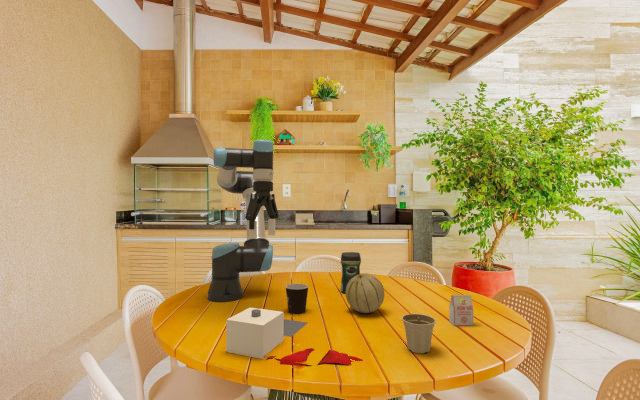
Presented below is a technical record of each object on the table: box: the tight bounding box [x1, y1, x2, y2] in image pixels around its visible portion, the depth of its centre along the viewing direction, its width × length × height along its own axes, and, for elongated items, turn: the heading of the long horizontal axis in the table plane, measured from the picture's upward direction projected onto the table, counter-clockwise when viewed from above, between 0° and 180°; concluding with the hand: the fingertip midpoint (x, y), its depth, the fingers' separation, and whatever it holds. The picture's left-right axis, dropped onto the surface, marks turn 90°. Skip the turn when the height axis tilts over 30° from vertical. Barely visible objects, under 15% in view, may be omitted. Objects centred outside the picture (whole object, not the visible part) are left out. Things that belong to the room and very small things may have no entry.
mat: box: [284, 318, 308, 338], centre depth 112 cm, size 14×13×1 cm
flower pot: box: [401, 313, 437, 354], centre depth 96 cm, size 9×9×9 cm
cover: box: [225, 307, 285, 360], centre depth 97 cm, size 12×12×10 cm
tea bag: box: [448, 294, 474, 327], centre depth 116 cm, size 4×7×10 cm, turn 91°
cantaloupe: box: [345, 273, 385, 314], centre depth 128 cm, size 15×15×15 cm
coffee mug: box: [285, 283, 309, 315], centre depth 129 cm, size 12×9×10 cm
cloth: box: [265, 347, 364, 367], centre depth 90 cm, size 26×14×2 cm, turn 77°
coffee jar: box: [340, 251, 362, 294], centre depth 157 cm, size 10×8×19 cm
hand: (262, 236), depth 128 cm, fingers open, 13 cm apart
